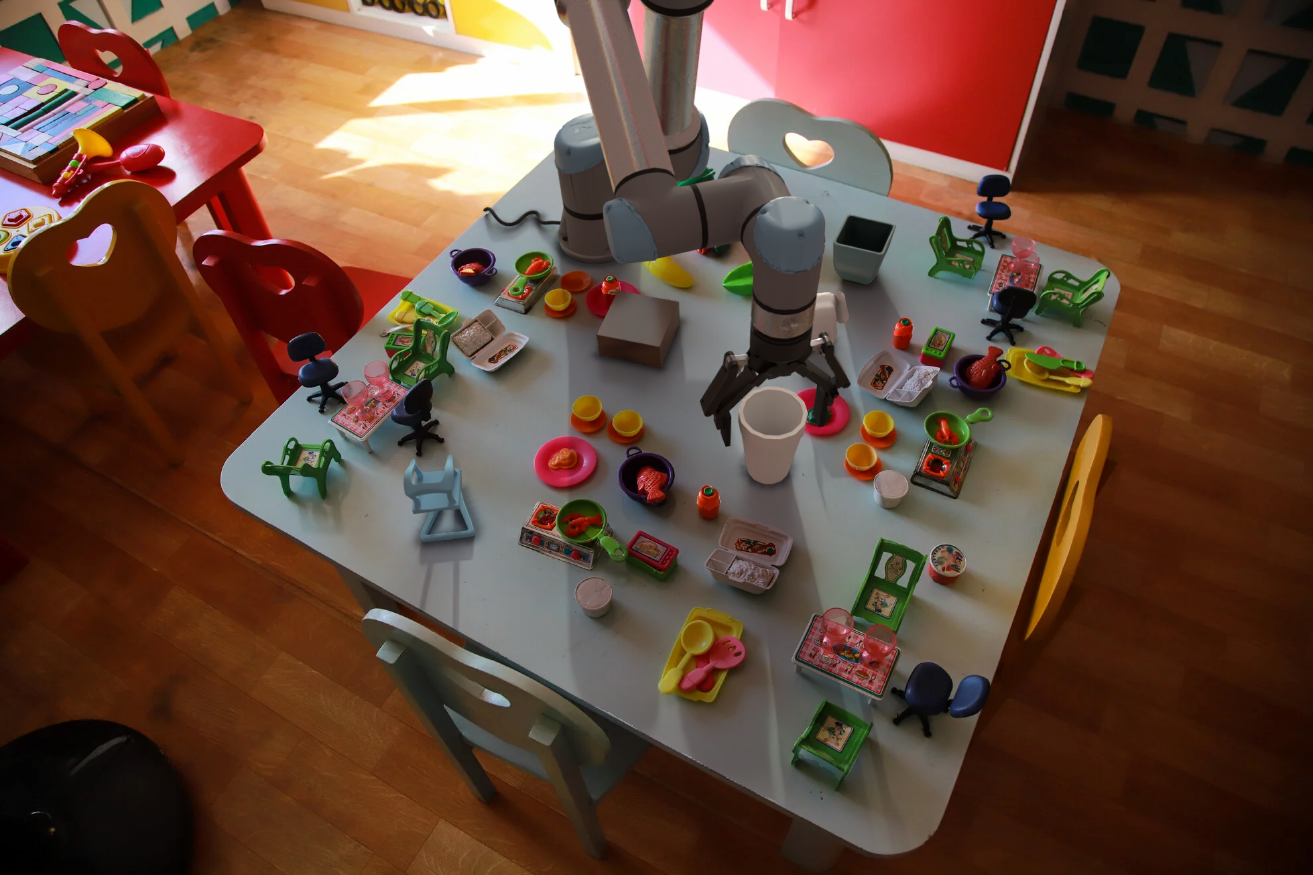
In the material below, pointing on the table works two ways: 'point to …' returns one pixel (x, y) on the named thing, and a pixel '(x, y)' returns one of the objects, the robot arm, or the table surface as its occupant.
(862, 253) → the flower pot
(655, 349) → the block
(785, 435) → the foam cup
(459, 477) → the chair
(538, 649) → the table surface
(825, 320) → the elephant figurine
